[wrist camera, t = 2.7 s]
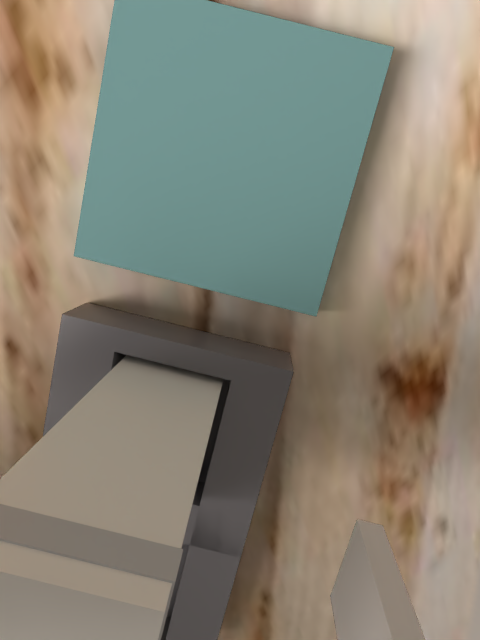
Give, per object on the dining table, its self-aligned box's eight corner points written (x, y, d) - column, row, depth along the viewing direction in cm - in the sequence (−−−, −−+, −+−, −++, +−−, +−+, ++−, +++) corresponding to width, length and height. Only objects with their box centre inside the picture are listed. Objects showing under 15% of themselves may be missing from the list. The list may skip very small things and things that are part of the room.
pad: (313, 311, 19) (316, 316, 18) (83, 254, 19) (73, 256, 18) (386, 57, 17) (393, 47, 16) (126, -8, 17) (118, -23, 16)
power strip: (212, 629, 23) (205, 685, 20) (38, 587, 23) (8, 636, 20) (289, 352, 20) (294, 374, 17) (87, 302, 20) (58, 315, 17)
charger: (200, 476, 20) (113, 831, 8) (110, 454, 20) (-102, 779, 8) (226, 370, 19) (168, 610, 7) (132, 347, 19) (-79, 549, 7)
